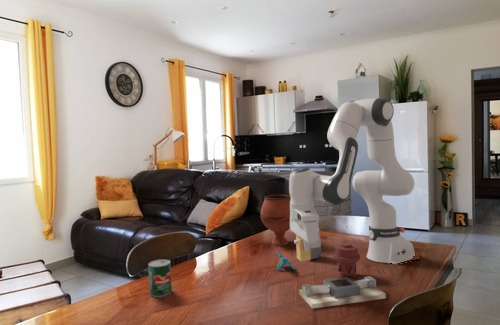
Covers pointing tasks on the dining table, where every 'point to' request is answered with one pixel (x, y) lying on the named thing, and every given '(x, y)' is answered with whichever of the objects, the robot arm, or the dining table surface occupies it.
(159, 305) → the dining table surface
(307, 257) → the coupler
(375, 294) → the board
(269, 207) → the goblet
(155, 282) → the canned tomato
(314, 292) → the shaft assembly
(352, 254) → the mechanical component
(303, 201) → the robot arm
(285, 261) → the blue toothed wheel
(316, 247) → the smart speaker
